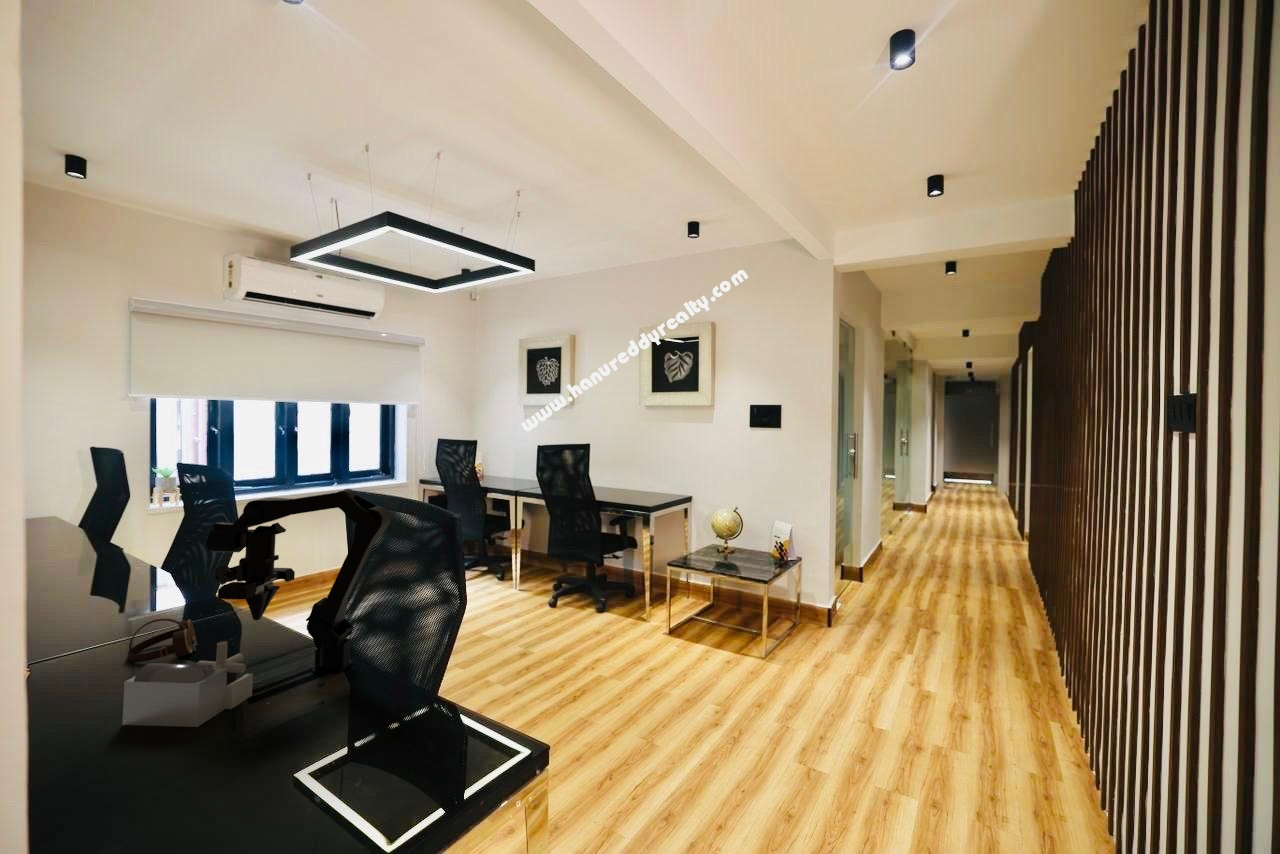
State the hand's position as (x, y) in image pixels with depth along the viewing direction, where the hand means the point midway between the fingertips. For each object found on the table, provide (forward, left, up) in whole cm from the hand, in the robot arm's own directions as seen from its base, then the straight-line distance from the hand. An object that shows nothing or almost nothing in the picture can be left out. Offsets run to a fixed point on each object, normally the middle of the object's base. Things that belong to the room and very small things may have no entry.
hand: (256, 619), depth 131 cm
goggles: (+28, -8, -12) cm, 32 cm away
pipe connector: (0, +11, -12) cm, 16 cm away
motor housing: (0, +20, -11) cm, 23 cm away
